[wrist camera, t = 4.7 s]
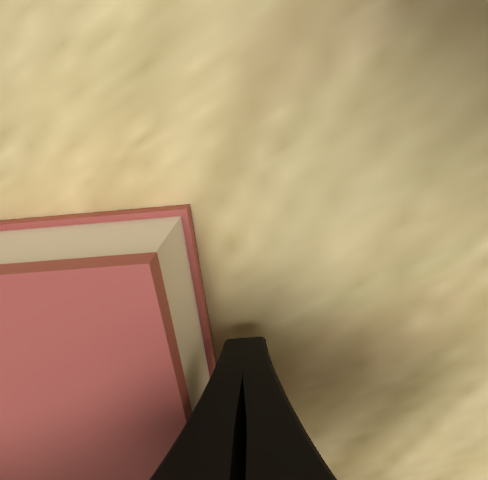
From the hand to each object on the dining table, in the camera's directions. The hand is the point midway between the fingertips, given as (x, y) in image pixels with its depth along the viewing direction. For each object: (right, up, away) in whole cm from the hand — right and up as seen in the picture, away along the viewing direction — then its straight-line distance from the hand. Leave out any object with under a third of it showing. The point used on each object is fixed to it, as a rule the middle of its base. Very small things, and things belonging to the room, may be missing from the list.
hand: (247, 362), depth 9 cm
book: (-5, 0, +2) cm, 5 cm away
